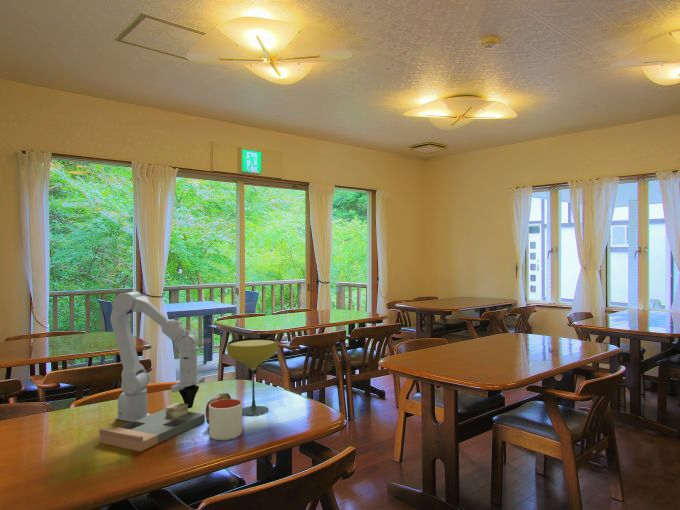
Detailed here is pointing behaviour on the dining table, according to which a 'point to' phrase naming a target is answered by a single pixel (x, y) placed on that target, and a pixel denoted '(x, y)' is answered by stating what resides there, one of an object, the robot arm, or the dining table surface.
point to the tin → (219, 397)
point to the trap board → (149, 430)
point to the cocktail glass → (252, 361)
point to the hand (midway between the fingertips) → (188, 407)
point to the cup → (225, 419)
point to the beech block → (176, 410)
